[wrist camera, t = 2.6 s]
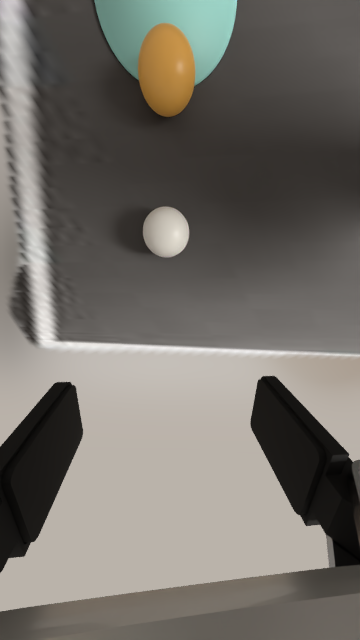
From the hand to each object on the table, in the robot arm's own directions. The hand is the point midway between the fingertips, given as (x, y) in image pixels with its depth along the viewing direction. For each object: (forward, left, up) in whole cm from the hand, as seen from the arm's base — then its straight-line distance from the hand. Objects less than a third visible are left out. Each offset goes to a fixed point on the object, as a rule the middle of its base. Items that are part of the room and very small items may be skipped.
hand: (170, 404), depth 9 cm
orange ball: (+20, -12, -18) cm, 29 cm away
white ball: (+8, -5, -18) cm, 20 cm away
